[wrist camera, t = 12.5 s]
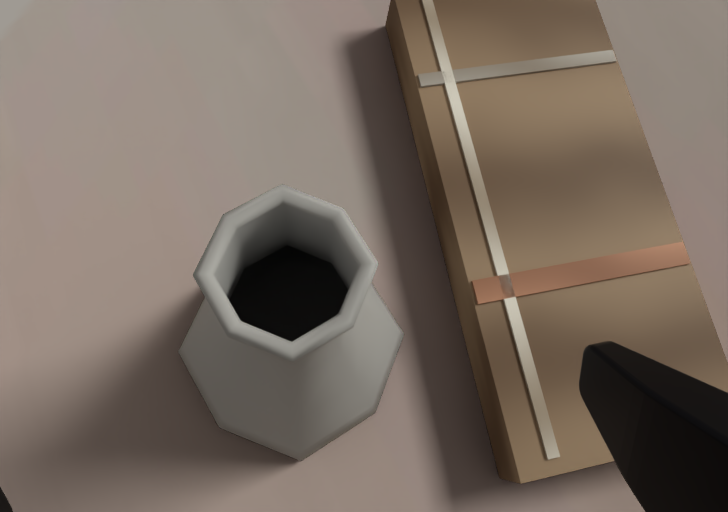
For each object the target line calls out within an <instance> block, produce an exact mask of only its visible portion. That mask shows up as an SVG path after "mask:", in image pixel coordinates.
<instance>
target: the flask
mask: <svg viewBox="0 0 728 512" xmlns="http://www.w3.org/2000/svg"><path fill="white" fill-rule="evenodd" d="M377 267H378V262H377V260H376V259H375V257H374V255H373V254H372V252H371V251H370V249H369V248H368V246H367V245H366V243H365V241H364V240H363V238H362V237H361V235H360V234H359V232H358V230H357V229H356V227H355V226H354V224H353V223H352V221H351V219H350V218H349V216H348V215H347V213H346V212H345V210H344V208H341V207H339V206H336V205H334V204H331V203H329V202H326V201H324V200H321V199H319V198H317V197H314V196H312V195H309V194H307V193H304V192H302V191H299V190H297V189H294V188H292V187H289V186H287V185H284V184H281V185H279V186H277V187H275V188H273V189H271V190H269V191H267V192H265V193H264V194H262V195H260V196H258V197H256V198H254V199H252V200H250V201H248V202H246V203H244V204H242V205H240V206H238V207H236V208H235V209H233V210H231V211H229V212H227V213H225V214H223V216H222V218H221V220H220V222H219V224H218V226H217V228H216V230H215V232H214V234H213V236H212V238H211V240H210V242H209V244H208V246H207V248H206V250H205V252H204V254H203V256H202V258H201V260H200V261H199V263H198V265H197V267H196V269H195V271H194V273H193V276H194V278H195V280H196V282H197V284H198V286H199V287H200V289H201V291H202V293H203V294H204V296H205V298H204V300H203V302H202V304H201V306H200V308H199V310H198V312H197V314H196V316H195V318H194V320H193V322H192V324H191V327H190V329H189V331H188V333H187V335H186V337H185V339H184V341H183V343H182V345H181V347H180V349H179V351H178V352H179V354H180V356H181V358H182V360H183V362H184V364H185V365H186V367H187V369H188V371H189V373H190V375H191V376H192V378H193V380H194V382H195V384H196V386H197V388H198V389H199V391H200V393H201V395H202V397H203V399H204V400H205V402H206V404H207V406H208V408H209V410H210V412H211V413H212V415H213V417H214V419H215V421H216V423H217V424H218V426H219V428H221V429H224V430H226V431H228V432H231V433H233V434H236V435H238V436H241V437H243V438H246V439H248V440H251V441H253V442H255V443H258V444H260V445H263V446H265V447H268V448H270V449H273V450H275V451H277V452H280V453H282V454H285V455H287V456H290V457H292V458H295V459H297V460H300V461H302V460H303V459H305V458H307V457H308V456H310V455H311V454H313V453H314V452H316V451H317V450H319V449H320V448H322V447H323V446H325V445H327V444H328V443H330V442H331V441H333V440H334V439H336V438H337V437H339V436H340V435H342V434H344V433H345V432H347V431H348V430H350V429H351V428H353V427H354V426H356V425H357V424H359V423H360V422H362V421H364V420H365V419H367V418H368V417H370V416H371V415H373V414H374V413H375V412H376V409H377V407H378V404H379V401H380V399H381V396H382V393H383V390H384V388H385V385H386V382H387V379H388V377H389V374H390V371H391V369H392V366H393V363H394V360H395V358H396V355H397V352H398V350H399V347H400V344H401V341H402V339H403V336H404V333H403V331H402V330H401V328H400V327H399V325H398V323H397V322H396V320H395V319H394V317H393V316H392V314H391V312H390V311H389V309H388V308H387V306H386V304H385V303H384V301H383V300H382V298H381V296H380V295H379V293H378V292H377V290H376V289H375V287H374V285H373V284H372V279H373V277H374V274H375V272H376V269H377Z"/></svg>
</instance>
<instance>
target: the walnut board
mask: <svg viewBox="0 0 728 512" xmlns="http://www.w3.org/2000/svg"><path fill="white" fill-rule="evenodd" d="M386 29H387V33H388V37H389V41H390V45H391V49H392V53H393V57H394V61H395V65H396V69H397V73H398V77H399V81H400V85H401V89H402V93H403V97H404V100H405V104H406V108H407V112H408V116H409V120H410V124H411V128H412V132H413V136H414V140H415V144H416V148H417V152H418V156H419V160H420V164H421V168H422V172H423V176H424V180H425V184H426V188H427V192H428V196H429V200H430V204H431V208H432V212H433V216H434V220H435V224H436V228H437V232H438V235H439V239H440V243H441V247H442V251H443V255H444V259H445V263H446V267H447V271H448V275H449V279H450V283H451V287H452V291H453V295H454V299H455V303H456V307H457V311H458V315H459V319H460V323H461V327H462V331H463V335H464V339H465V343H466V347H467V351H468V355H469V359H470V363H471V366H472V370H473V374H474V378H475V382H476V386H477V390H478V394H479V398H480V402H481V406H482V410H483V414H484V418H485V422H486V426H487V430H488V434H489V438H490V442H491V446H492V450H493V454H494V458H495V462H496V466H497V470H498V474H499V478H501V479H504V480H508V481H512V482H516V483H520V484H522V483H526V482H530V481H535V480H539V479H543V478H547V477H551V476H555V475H559V474H563V473H567V472H571V471H575V470H579V469H584V468H588V467H592V466H596V465H600V464H604V463H608V462H612V461H614V459H613V457H612V455H611V453H610V451H609V449H608V447H607V445H606V443H605V441H604V440H603V438H602V436H601V434H600V432H599V430H598V428H597V426H596V424H595V422H594V420H593V418H592V417H591V415H590V413H589V411H588V409H587V407H586V405H585V403H584V401H583V399H582V397H581V394H580V390H579V378H580V371H581V364H582V357H583V352H584V349H585V348H586V346H588V345H590V344H595V343H599V342H604V341H612V342H615V343H617V344H620V345H622V346H624V347H626V348H629V349H631V350H633V351H635V352H638V353H640V354H642V355H644V356H647V357H649V358H651V359H653V360H656V361H658V362H660V363H662V364H665V365H667V366H669V367H671V368H674V369H676V370H678V371H680V372H683V373H685V374H687V375H689V376H692V377H694V378H696V379H698V380H701V381H703V382H705V383H707V384H710V385H712V386H714V387H716V388H719V389H721V390H723V391H725V392H727V393H728V363H727V360H726V357H725V354H724V352H723V349H722V346H721V343H720V341H719V338H718V335H717V332H716V330H715V327H714V324H713V322H712V319H711V316H710V313H709V311H708V308H707V305H706V302H705V300H704V297H703V294H702V291H701V289H700V286H699V283H698V280H697V278H696V275H695V272H694V269H693V267H692V264H691V261H690V258H689V256H688V253H687V250H686V247H685V245H684V242H683V239H682V236H681V234H680V231H679V228H678V225H677V223H676V220H675V217H674V215H673V212H672V209H671V206H670V204H669V201H668V198H667V195H666V193H665V190H664V187H663V184H662V182H661V179H660V176H659V173H658V171H657V168H656V165H655V162H654V160H653V157H652V154H651V151H650V149H649V146H648V143H647V140H646V138H645V135H644V132H643V129H642V127H641V124H640V121H639V119H638V116H637V113H636V110H635V108H634V105H633V102H632V99H631V97H630V94H629V91H628V88H627V86H626V83H625V80H624V77H623V75H622V72H621V69H620V66H619V64H618V61H617V58H616V55H615V53H614V50H613V47H612V44H611V42H610V39H609V36H608V33H607V31H606V28H605V25H604V22H603V20H602V17H601V14H600V12H599V9H598V6H597V3H596V1H595V0H391V2H390V6H389V11H388V16H387V21H386Z"/></svg>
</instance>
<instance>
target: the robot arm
mask: <svg viewBox="0 0 728 512" xmlns="http://www.w3.org/2000/svg"><path fill="white" fill-rule="evenodd" d="M579 390H580V394H581V397H582V399H583V401H584V403H585V405H586V407H587V409H588V411H589V413H590V415H591V417H592V418H593V420H594V422H595V424H596V426H597V428H598V430H599V432H600V434H601V436H602V438H603V440H604V441H605V443H606V445H607V447H608V449H609V451H610V453H611V455H612V457H613V459H614V461H615V463H616V465H617V466H618V468H619V470H620V472H621V474H622V475H623V477H624V479H625V481H626V482H627V484H628V485H629V487H630V489H631V490H632V492H633V493H634V495H635V496H636V498H637V500H638V501H639V503H640V504H641V506H642V507H643V509H644V510H645V512H728V393H727V392H725V391H723V390H721V389H719V388H716V387H714V386H712V385H710V384H707V383H705V382H703V381H701V380H698V379H696V378H694V377H692V376H689V375H687V374H685V373H683V372H680V371H678V370H676V369H674V368H671V367H669V366H667V365H665V364H662V363H660V362H658V361H656V360H653V359H651V358H649V357H647V356H644V355H642V354H640V353H638V352H635V351H633V350H631V349H629V348H626V347H624V346H622V345H620V344H617V343H615V342H612V341H604V342H599V343H595V344H590V345H588V346H586V348H585V349H584V352H583V357H582V364H581V371H580V378H579ZM0 512H13V511H12V508H11V505H10V504H9V502H8V500H7V498H6V496H5V495H4V493H3V491H2V489H1V488H0Z"/></svg>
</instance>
